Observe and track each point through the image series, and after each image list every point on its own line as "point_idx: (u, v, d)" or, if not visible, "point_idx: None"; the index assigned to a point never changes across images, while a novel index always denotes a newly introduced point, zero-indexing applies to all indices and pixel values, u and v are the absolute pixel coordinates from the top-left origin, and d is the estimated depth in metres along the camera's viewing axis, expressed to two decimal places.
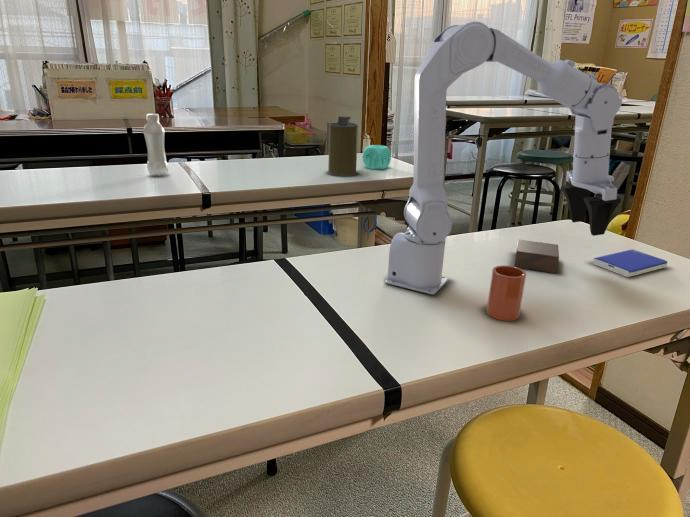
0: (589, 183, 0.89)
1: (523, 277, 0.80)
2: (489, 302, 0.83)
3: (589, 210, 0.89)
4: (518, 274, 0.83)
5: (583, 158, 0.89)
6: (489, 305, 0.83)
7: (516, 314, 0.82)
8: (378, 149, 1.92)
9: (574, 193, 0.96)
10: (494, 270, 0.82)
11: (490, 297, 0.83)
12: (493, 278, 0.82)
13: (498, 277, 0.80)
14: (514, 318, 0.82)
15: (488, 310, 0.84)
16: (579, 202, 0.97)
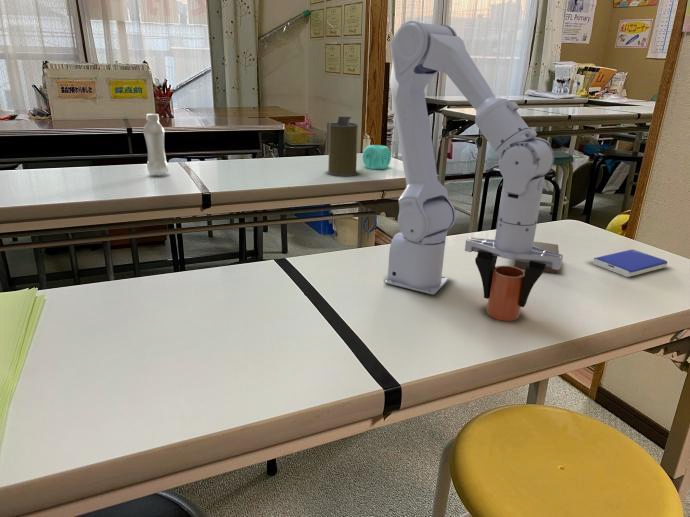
0: None
1: (523, 277, 0.80)
2: (489, 302, 0.83)
3: None
4: (518, 274, 0.83)
5: None
6: (489, 305, 0.83)
7: (516, 314, 0.82)
8: (378, 149, 1.92)
9: None
10: (494, 270, 0.82)
11: (490, 297, 0.83)
12: (493, 278, 0.82)
13: (498, 277, 0.80)
14: (514, 318, 0.82)
15: (488, 310, 0.84)
16: None
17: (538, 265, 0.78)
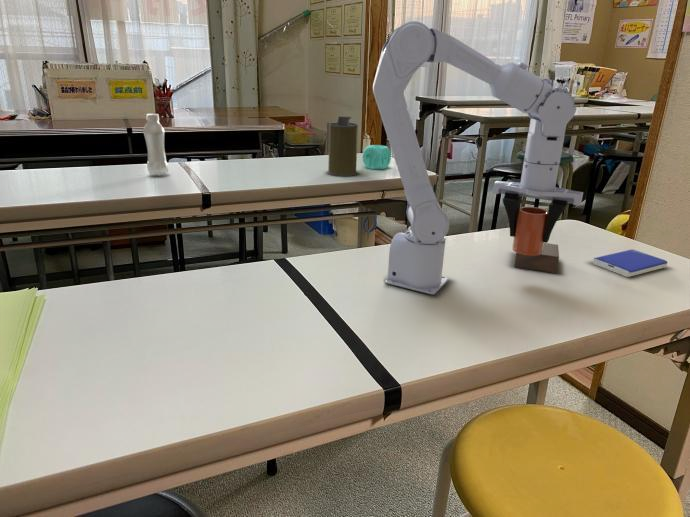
0: None
1: (547, 214, 0.88)
2: (515, 239, 0.91)
3: None
4: (541, 214, 0.91)
5: None
6: (515, 242, 0.91)
7: (540, 249, 0.90)
8: (378, 149, 1.92)
9: None
10: (520, 209, 0.90)
11: (516, 235, 0.91)
12: (519, 216, 0.90)
13: (524, 215, 0.89)
14: (538, 253, 0.90)
15: (514, 247, 0.92)
16: None
17: (561, 202, 0.86)
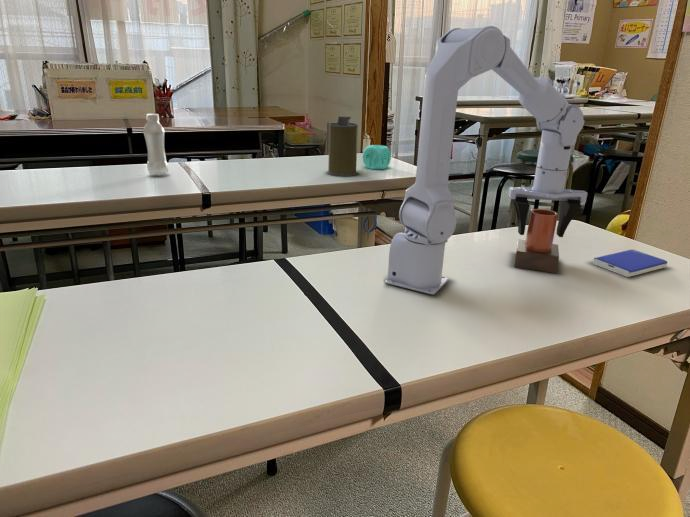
0: (532, 187, 1.02)
1: (557, 215, 1.01)
2: (531, 239, 1.03)
3: None
4: (547, 214, 1.04)
5: None
6: (531, 242, 1.03)
7: None
8: (378, 149, 1.92)
9: (562, 207, 1.03)
10: (534, 213, 1.02)
11: (532, 235, 1.03)
12: (535, 219, 1.01)
13: (541, 217, 1.00)
14: None
15: (530, 246, 1.03)
16: (562, 217, 1.02)
17: (575, 201, 1.00)
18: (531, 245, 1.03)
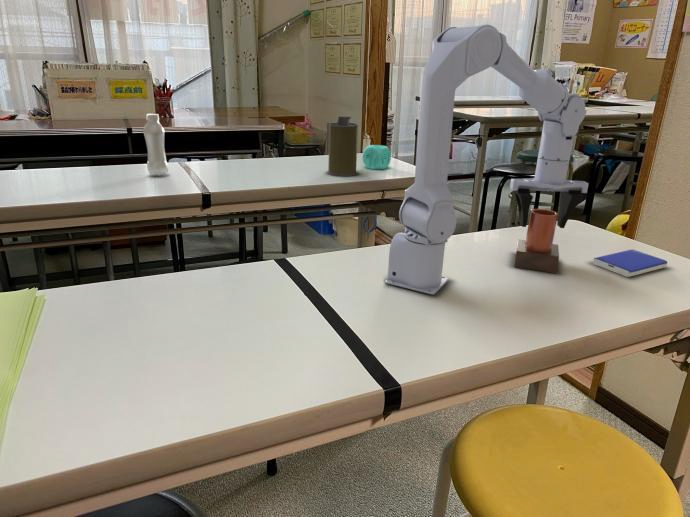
0: (534, 179, 1.01)
1: (557, 215, 1.01)
2: (531, 239, 1.03)
3: None
4: (547, 214, 1.04)
5: None
6: (531, 242, 1.03)
7: None
8: (378, 149, 1.92)
9: (563, 198, 1.02)
10: (534, 213, 1.02)
11: (532, 235, 1.03)
12: (535, 219, 1.01)
13: (541, 217, 1.00)
14: None
15: (530, 246, 1.03)
16: (563, 208, 1.02)
17: (576, 192, 1.00)
18: (531, 245, 1.03)
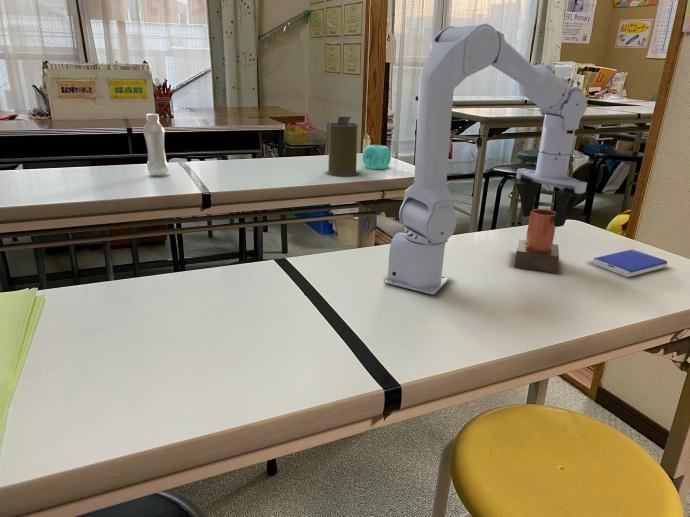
0: (557, 178, 0.97)
1: None
2: (531, 239, 1.03)
3: (559, 203, 0.97)
4: (547, 214, 1.04)
5: (554, 155, 0.96)
6: (531, 242, 1.03)
7: None
8: (378, 149, 1.92)
9: (528, 189, 1.03)
10: (534, 213, 1.02)
11: (532, 235, 1.03)
12: (535, 219, 1.01)
13: (541, 217, 1.00)
14: None
15: (530, 246, 1.03)
16: (530, 198, 1.05)
17: None
18: (531, 245, 1.03)
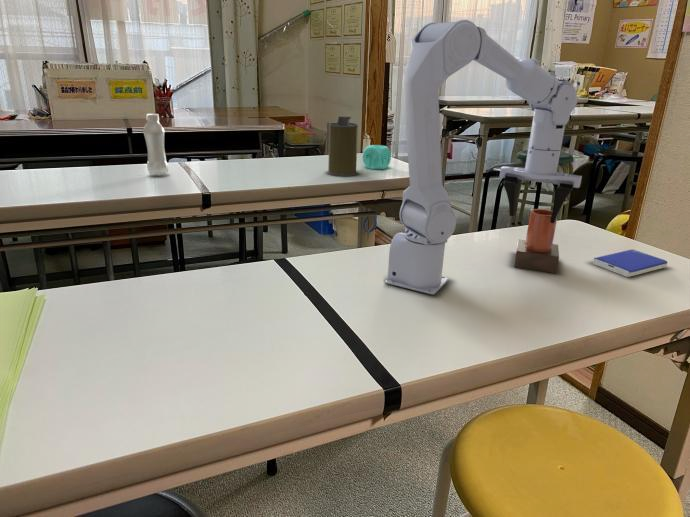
0: (553, 174, 0.95)
1: (557, 215, 1.01)
2: (531, 239, 1.03)
3: (558, 199, 0.95)
4: (547, 214, 1.04)
5: (551, 151, 0.93)
6: (531, 242, 1.03)
7: None
8: (378, 149, 1.92)
9: (516, 187, 0.99)
10: (534, 213, 1.02)
11: (532, 235, 1.03)
12: (535, 219, 1.01)
13: (541, 217, 1.00)
14: None
15: (530, 246, 1.03)
16: (516, 196, 1.01)
17: None
18: (531, 245, 1.03)
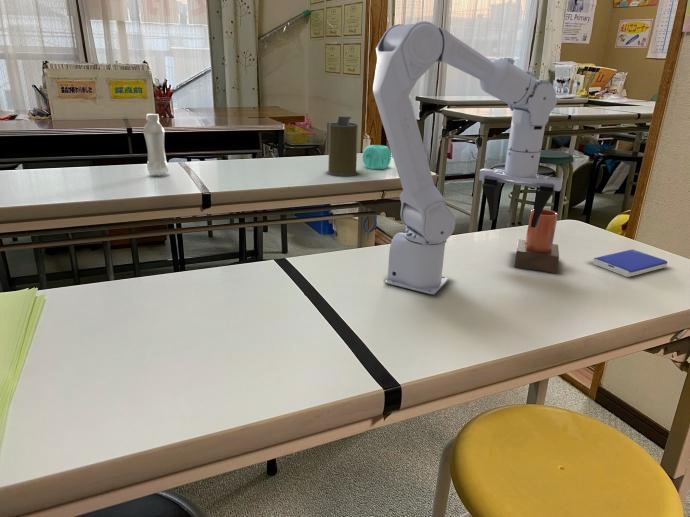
0: (533, 177, 0.91)
1: (557, 215, 1.01)
2: (531, 239, 1.03)
3: (539, 203, 0.92)
4: (547, 214, 1.04)
5: (530, 153, 0.90)
6: (531, 242, 1.03)
7: None
8: (378, 149, 1.92)
9: (496, 191, 0.96)
10: None
11: (532, 235, 1.03)
12: None
13: (541, 217, 1.00)
14: None
15: (530, 246, 1.03)
16: (496, 199, 0.97)
17: None
18: (531, 245, 1.03)
